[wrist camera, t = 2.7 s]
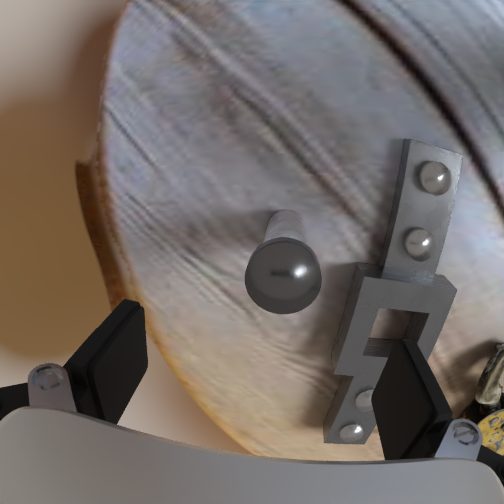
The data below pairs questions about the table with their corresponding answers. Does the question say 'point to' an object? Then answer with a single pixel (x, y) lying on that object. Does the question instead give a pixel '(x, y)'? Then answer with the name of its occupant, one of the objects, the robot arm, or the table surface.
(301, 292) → the steel pin
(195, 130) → the table surface
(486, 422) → the pulley block
